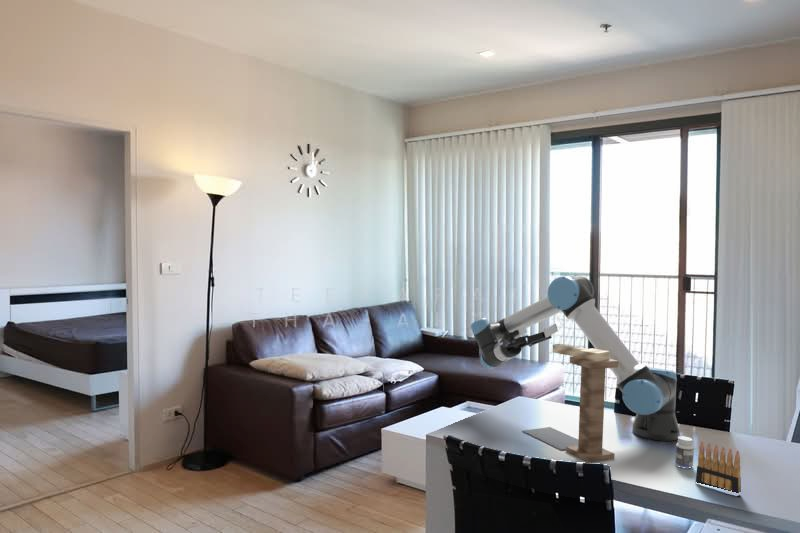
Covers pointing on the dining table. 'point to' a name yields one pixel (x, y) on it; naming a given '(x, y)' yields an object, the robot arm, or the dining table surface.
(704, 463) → the ammunition clip
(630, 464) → the dining table surface
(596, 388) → the stand
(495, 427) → the dining table surface
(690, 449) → the pill bottle
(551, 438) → the mat
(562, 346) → the paddle
